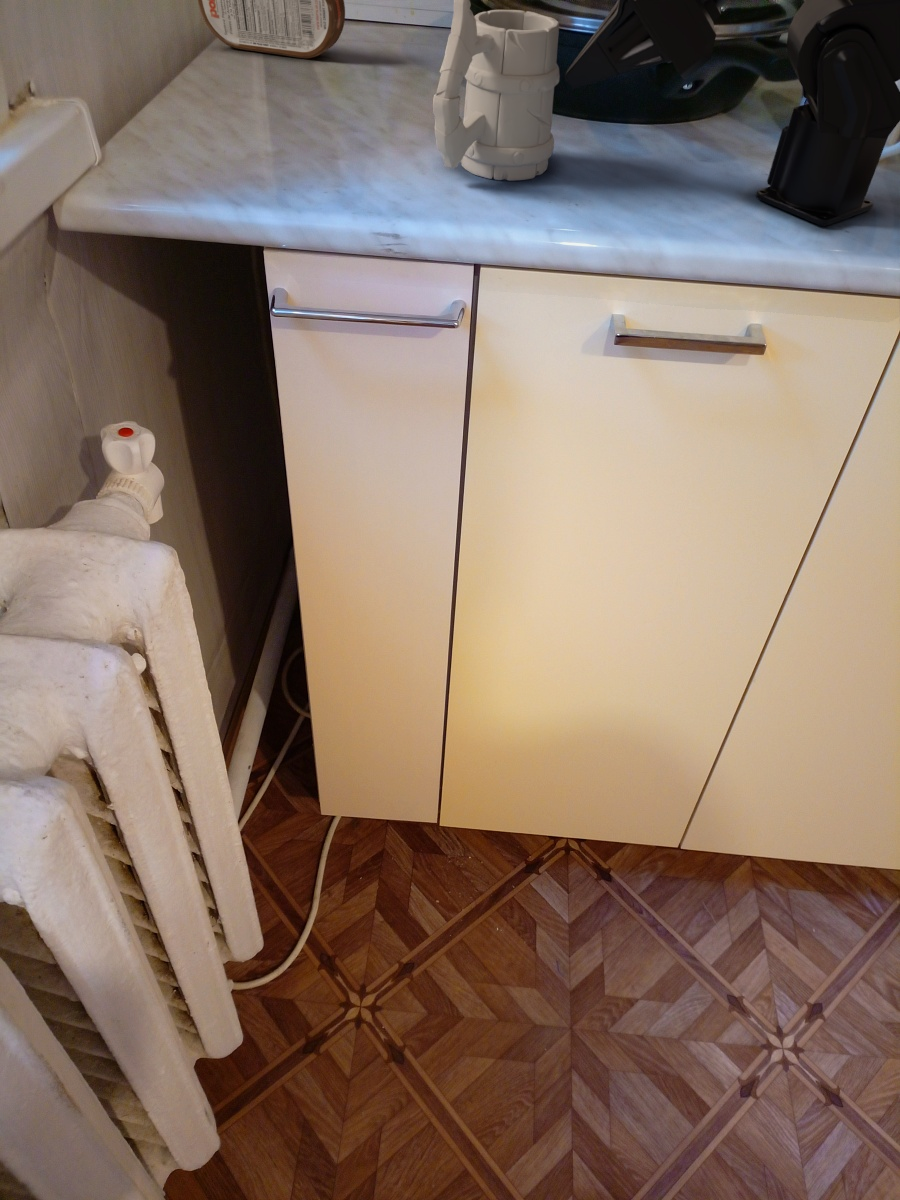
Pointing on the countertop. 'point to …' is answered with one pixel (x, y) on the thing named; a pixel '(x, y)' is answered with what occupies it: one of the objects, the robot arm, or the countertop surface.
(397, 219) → the countertop surface
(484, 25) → the mug
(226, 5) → the tin
